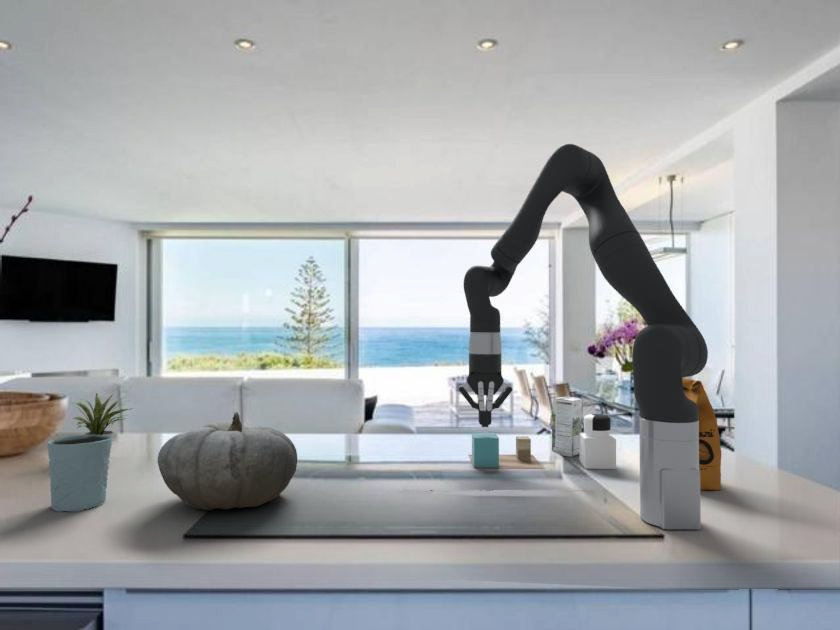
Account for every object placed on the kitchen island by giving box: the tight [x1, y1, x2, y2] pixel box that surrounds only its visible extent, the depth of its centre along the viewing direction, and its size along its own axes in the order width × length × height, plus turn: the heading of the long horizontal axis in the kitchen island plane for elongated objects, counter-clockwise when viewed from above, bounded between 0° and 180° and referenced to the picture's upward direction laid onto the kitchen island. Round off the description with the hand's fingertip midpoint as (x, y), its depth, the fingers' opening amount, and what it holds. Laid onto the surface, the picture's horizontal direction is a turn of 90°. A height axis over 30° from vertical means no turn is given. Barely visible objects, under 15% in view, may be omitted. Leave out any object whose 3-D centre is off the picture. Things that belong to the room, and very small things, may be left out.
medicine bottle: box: [578, 413, 617, 470], centre depth 133 cm, size 7×7×12 cm
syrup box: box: [551, 396, 583, 458], centre depth 145 cm, size 6×6×14 cm
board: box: [468, 435, 546, 470], centre depth 133 cm, size 14×16×6 cm
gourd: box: [157, 411, 298, 511], centre depth 106 cm, size 25×25×17 cm
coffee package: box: [682, 377, 722, 491], centre depth 118 cm, size 10×12×22 cm
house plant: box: [70, 392, 134, 452], centre depth 139 cm, size 14×14×16 cm
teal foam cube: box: [471, 432, 500, 467], centre depth 130 cm, size 6×6×7 cm
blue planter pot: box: [47, 434, 113, 512], centre depth 104 cm, size 10×10×12 cm
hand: (485, 426), depth 130 cm, fingers closed
